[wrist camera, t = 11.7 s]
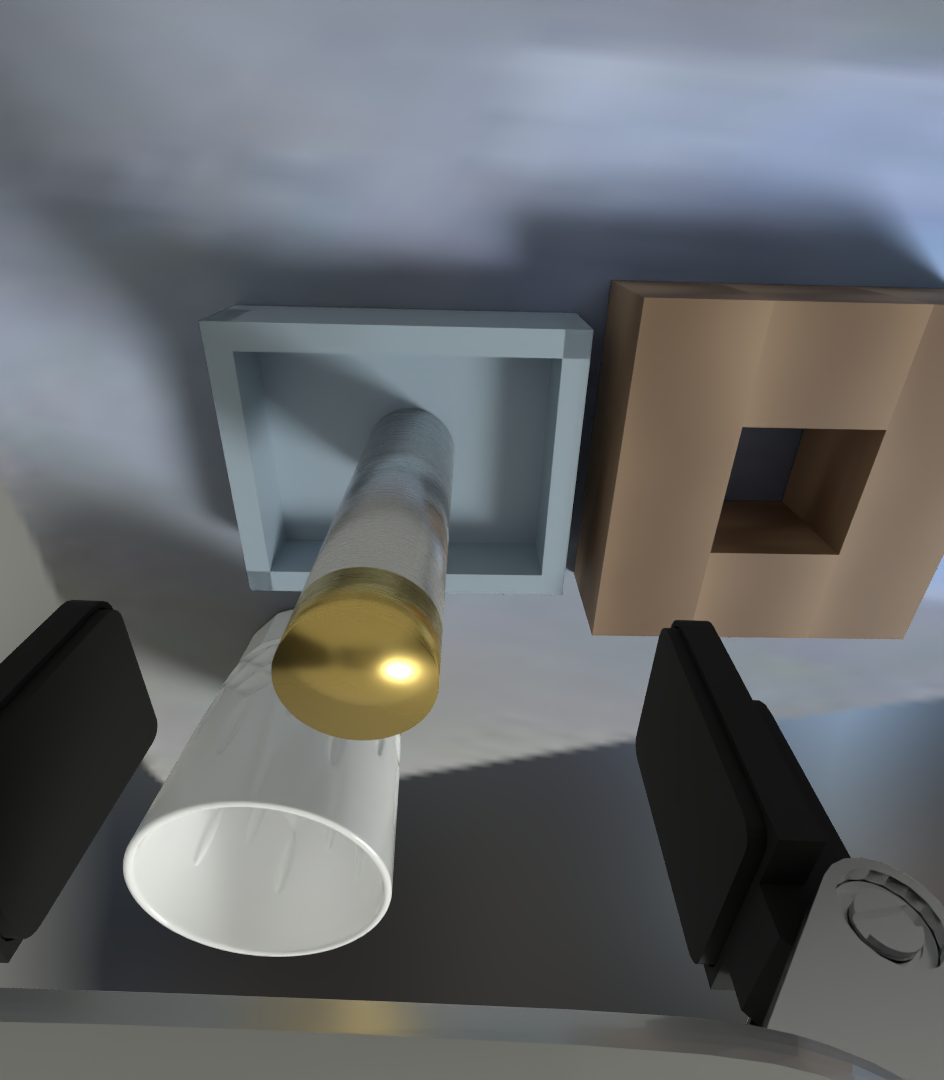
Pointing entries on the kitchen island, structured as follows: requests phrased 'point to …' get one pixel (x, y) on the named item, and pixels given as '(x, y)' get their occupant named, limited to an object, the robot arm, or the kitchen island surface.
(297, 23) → the kitchen island surface
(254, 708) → the white cup
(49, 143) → the kitchen island surface
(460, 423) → the tray
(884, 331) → the socket block
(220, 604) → the kitchen island surface
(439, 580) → the pin
